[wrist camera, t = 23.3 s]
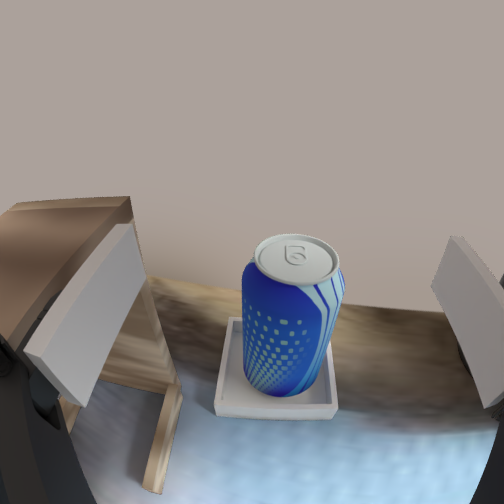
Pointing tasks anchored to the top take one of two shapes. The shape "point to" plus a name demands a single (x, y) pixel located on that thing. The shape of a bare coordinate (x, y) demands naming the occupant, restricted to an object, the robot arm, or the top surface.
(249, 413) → the tray
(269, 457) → the top surface
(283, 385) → the beer can
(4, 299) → the dock
